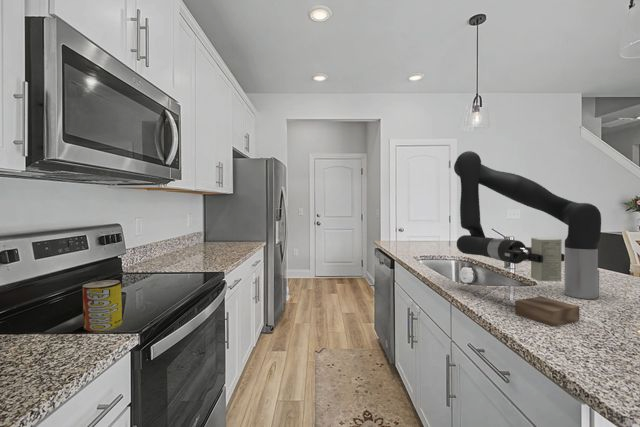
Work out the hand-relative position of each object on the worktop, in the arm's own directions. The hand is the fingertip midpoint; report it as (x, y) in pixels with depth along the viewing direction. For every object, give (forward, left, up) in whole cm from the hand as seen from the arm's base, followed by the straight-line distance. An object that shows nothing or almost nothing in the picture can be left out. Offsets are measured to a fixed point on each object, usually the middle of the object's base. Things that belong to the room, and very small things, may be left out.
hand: (552, 258), depth 91 cm
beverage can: (+124, -31, -18) cm, 129 cm away
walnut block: (0, -2, -18) cm, 18 cm away
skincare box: (0, -2, -7) cm, 7 cm away
